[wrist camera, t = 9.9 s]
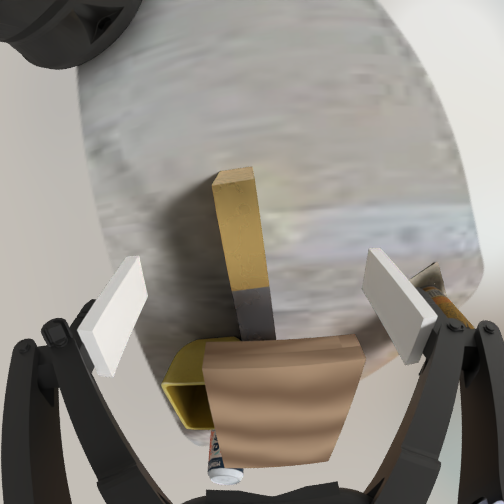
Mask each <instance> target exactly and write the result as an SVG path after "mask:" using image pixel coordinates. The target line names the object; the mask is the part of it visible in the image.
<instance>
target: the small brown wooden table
mask: <svg viewBox="0 0 504 504" xmlns="http://www.w3.org/2000/svg"><path fill="white" fill-rule="evenodd" d="M365 361H366V357H365V355H364V352H363V350H362V348H361V346H360V344H359V341H358V339H357V337H356V335H355V334H350V335H340V336H329V337H317V338H304V339H288V340H267V341H233V342H206V346H205V352H204V359H203V365H202V371H203V376H204V381H205V386H206V391H207V396H208V400H209V405H210V409H211V414H212V418H213V423H214V427H215V431H216V435H217V439H218V444H219V448H220V452H221V455H222V459H223V463H224V467H225V468H263V467H281V466H293V465H302V464H311V463H319V462H326V461H328V460H329V458H330V456H331V454H332V452H333V449H334V447H335V445H336V442H337V440H338V437H339V434H340V432H341V430H342V427H343V425H344V422H345V420H346V417H347V414H348V412H349V409H350V406H351V403H352V401H353V398H354V395H355V392H356V389H357V386H358V383H359V380H360V377H361V374H362V371H363V367H364V364H365Z"/></svg>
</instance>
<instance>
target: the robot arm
mask: <svg viewBox="0 0 504 504" xmlns="http://www.w3.org/2000/svg"><path fill="white" fill-rule="evenodd" d="M141 1H142V0H0V42H6V43H8V44H10V45H11V46H12V47H13V48H14V49H16V50H17V51H18V52H19V53H21V54H22V56H23V57H24V58H25V59H26V60H27V61H28V62H30V63H32V64H34V65H36V66H39V67H44V68H49V69H56V70H57V69H58V70H59V69H67V68H71V67H75V66H78V65H80V64H82V63H85V62H86V61H88V60H90V59H92V58H94V57H95V56H97V55H98V54H99V53H101V52H102V51H104V50H105V49H106V48H107V47H108V46H110V45H111V44H112V43H113V42H114V41H115V40H116V39H117V38H118V37H119V36H120V35H121V34H122V33H123V31H124V30H125V29H126V28H127V26H128V25H129V24H130V22H131V21H132V19H133V18H134V16H135V14H136V12H137V11H138V9H139V6H140V4H141ZM362 290H363V292H364V293H365V295H366V297H367V298H368V300H369V302H370V303H371V305H372V307H373V309H374V310H375V312H376V314H377V315H378V317H379V319H380V321H381V322H382V324H383V326H384V328H385V329H386V331H387V333H388V335H389V337H390V338H391V340H392V342H393V344H394V346H395V347H396V349H397V351H398V353H399V355H400V357H401V358H402V360H403V362H404V364H405V365H409V364H414V363H418V362H419V360H420V358H421V355H422V354H424V356H425V357H426V361H425V362H424V364H423V366H422V369H421V371H420V373H419V375H420V377H419V379H418V382H417V385H416V388H415V391H414V393H413V396H412V398H411V401H410V404H409V406H408V408H407V411H406V414H405V416H404V418H403V421H402V423H401V425H400V427H399V430H398V432H397V434H396V436H395V438H394V440H393V442H392V444H391V447H390V448H389V450H388V453H387V454H386V456H385V458H384V460H383V463H382V464H381V466H380V468H379V470H378V471H377V473H376V475H375V477H374V478H373V480H372V481H371V483H370V484H369V485H368V487H367V488H366V490H365V491H364V493H362V492H359V491H356V490H353V489H347V488H339V486H338V482H331V483H325V484H319V485H312V486H306V487H303V488H300V489H297V490H294V491H291V492H288V493H284V494H281V495H278V496H265V495H259V494H254V493H248V492H243V491H229V490H228V491H227V490H226V491H225V490H206V496H202V497H198V498H194V499H191V500H189V501H186V502H184V503H182V504H426V503H427V500H428V498H429V496H430V494H431V491H432V489H433V486H434V484H435V481H436V479H437V476H438V474H439V471H440V467H441V462H439V461H438V458H439V454H440V451H441V448H442V445H443V442H444V439H445V435H446V432H447V429H448V425H449V422H450V418H451V414H452V410H453V406H454V402H455V398H456V393H457V388H458V383H459V380H460V393H461V410H462V454H461V471H460V483H459V493H458V504H504V341H503V338H502V335H501V332H500V330H499V328H498V327H497V326H496V325H495V324H494V323H492V322H490V321H481V322H480V323H479V324H478V327H477V329H468V328H466V327H465V325H464V324H463V323H462V322H461V321H459V320H457V319H454V318H447V316H446V315H445V314H444V313H443V311H442V310H441V309H440V308H439V307H438V305H437V304H435V302H434V301H433V299H431V297H430V296H429V295H428V293H427V292H425V291H424V290H422V289H421V288H419V287H416V288H415V287H414V286H413V285H412V284H411V282H410V281H409V280H408V279H407V278H406V277H405V275H404V274H403V273H402V272H401V271H400V270H399V269H398V267H397V266H396V265H395V264H394V263H393V262H392V261H391V259H390V258H389V257H388V256H387V255H386V254H385V253H384V252H383V251H382V250H381V248H369V250H368V256H367V262H366V268H365V274H364V280H363V285H362ZM147 297H148V294H147V290H146V286H145V281H144V277H143V272H142V268H141V263H140V258H139V256H127V257H126V258H125V260H124V261H123V262H122V264H121V265H120V267H119V268H118V269H117V271H116V272H115V274H114V275H113V277H112V278H111V279H110V281H109V282H108V284H107V285H106V287H105V288H104V290H103V291H102V292H101V294H100V295H99V297H98V298H97V299H92V300H90V301H89V302H88V303H86V304H85V305H84V307H83V308H82V309H81V311H80V313H79V314H78V315H77V318H75V320H74V321H73V323H72V324H71V326H70V327H69V326H68V323H67V322H66V320H65V319H62V318H55V319H52V320H50V321H48V322H47V323H46V324H45V325H43V327H42V329H41V333H42V336H43V338H44V340H45V341H46V343H47V346H39V347H37V345H36V343H35V342H34V340H32V339H24V340H21V341H20V342H18V343H17V344H16V345H15V347H14V349H13V353H12V357H11V363H10V368H9V374H8V380H7V386H6V394H5V402H4V411H3V423H2V443H1V444H2V445H1V469H2V488H3V500H4V504H72V502H71V498H70V493H69V488H68V483H67V477H66V471H65V465H64V458H63V450H62V441H61V432H60V431H61V430H60V417H59V395H58V394H59V391H58V388H60V390H61V393H62V396H63V399H64V402H65V405H66V408H67V410H68V413H69V416H70V419H71V421H72V424H73V426H74V429H75V431H76V434H77V436H78V439H79V441H80V443H81V445H82V448H83V450H84V452H85V454H86V456H87V458H88V461H89V463H90V465H91V467H92V469H93V471H94V473H95V474H96V476H97V479H98V482H97V487H98V489H99V491H100V493H101V495H102V497H103V499H104V500H105V502H106V504H173V503H172V502H171V501H170V500H169V499H168V498H167V496H166V495H165V494H164V493H163V492H162V490H161V489H160V488H159V487H158V485H157V484H156V483H155V481H154V480H153V478H152V477H151V476H150V474H149V473H148V471H147V470H146V468H145V467H144V466H143V464H142V463H141V462H140V460H139V458H138V457H137V455H136V453H135V452H134V450H133V449H132V447H131V446H130V444H129V442H128V441H127V439H126V437H125V436H124V434H123V432H122V431H121V429H120V427H119V425H118V424H117V422H116V420H115V418H114V417H113V415H112V413H111V411H110V409H109V408H108V406H107V403H106V402H105V400H104V398H103V396H102V394H101V392H100V390H99V388H98V386H97V383H96V381H95V379H94V377H93V375H92V371H93V369H94V367H95V369H96V371H97V373H98V375H99V376H105V377H113V376H114V374H115V371H116V369H117V366H118V364H119V361H120V359H121V356H122V354H123V352H124V349H125V347H126V344H127V342H128V340H129V338H130V335H131V333H132V331H133V328H134V326H135V324H136V322H137V319H138V317H139V315H140V313H141V310H142V308H143V306H144V304H145V302H146V299H147Z"/></svg>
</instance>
